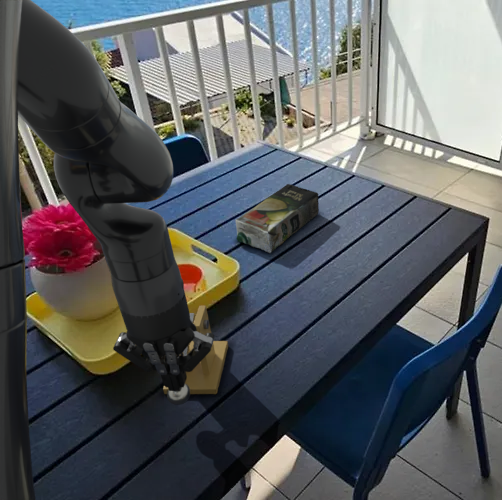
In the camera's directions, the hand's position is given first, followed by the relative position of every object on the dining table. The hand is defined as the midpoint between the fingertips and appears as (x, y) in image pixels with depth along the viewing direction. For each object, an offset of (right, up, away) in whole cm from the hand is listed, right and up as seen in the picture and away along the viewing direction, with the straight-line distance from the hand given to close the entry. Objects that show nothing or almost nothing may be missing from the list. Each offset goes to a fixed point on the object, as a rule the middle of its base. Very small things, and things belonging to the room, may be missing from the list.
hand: (177, 385), depth 70 cm
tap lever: (0, +3, +4) cm, 5 cm away
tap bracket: (0, 0, +11) cm, 11 cm away
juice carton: (+8, +24, +45) cm, 51 cm away
